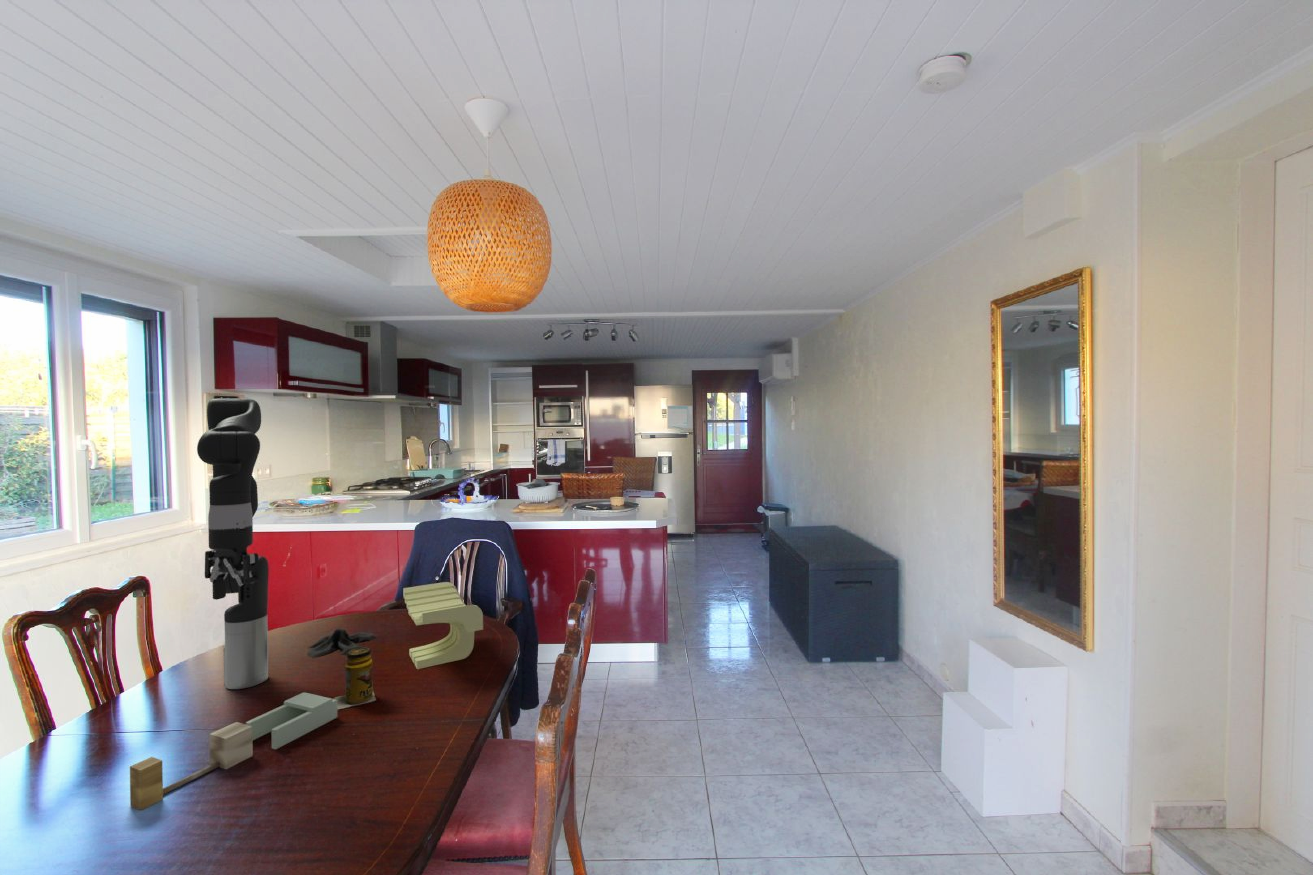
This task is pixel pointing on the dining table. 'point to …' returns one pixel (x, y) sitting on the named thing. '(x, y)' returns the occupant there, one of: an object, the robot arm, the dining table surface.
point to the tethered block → (223, 754)
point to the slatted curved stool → (442, 608)
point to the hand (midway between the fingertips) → (232, 600)
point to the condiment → (357, 679)
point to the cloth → (338, 642)
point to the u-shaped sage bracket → (294, 718)
